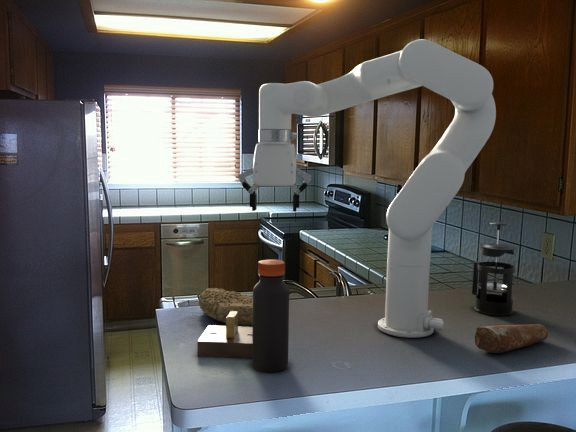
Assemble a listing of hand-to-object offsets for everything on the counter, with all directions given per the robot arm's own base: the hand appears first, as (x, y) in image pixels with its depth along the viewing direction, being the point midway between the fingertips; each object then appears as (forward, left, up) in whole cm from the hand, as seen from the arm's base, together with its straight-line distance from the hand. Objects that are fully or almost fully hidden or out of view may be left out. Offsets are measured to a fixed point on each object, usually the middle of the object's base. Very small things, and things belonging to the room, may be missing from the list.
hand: (274, 210), depth 133 cm
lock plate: (-6, +22, -26) cm, 35 cm away
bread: (-52, -14, -26) cm, 60 cm away
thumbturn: (-6, +22, -23) cm, 32 cm away
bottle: (-17, +25, -26) cm, 40 cm away
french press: (-42, -39, -26) cm, 63 cm away
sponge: (+6, +8, -26) cm, 28 cm away
